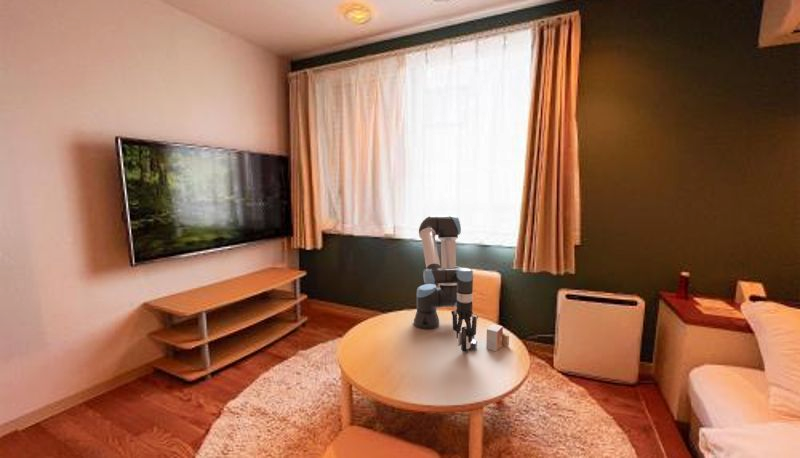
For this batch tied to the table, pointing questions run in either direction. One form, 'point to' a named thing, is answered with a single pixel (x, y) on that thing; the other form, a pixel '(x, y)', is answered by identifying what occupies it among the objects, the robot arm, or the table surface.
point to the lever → (463, 341)
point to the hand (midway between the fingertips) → (463, 346)
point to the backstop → (505, 340)
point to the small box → (494, 337)
